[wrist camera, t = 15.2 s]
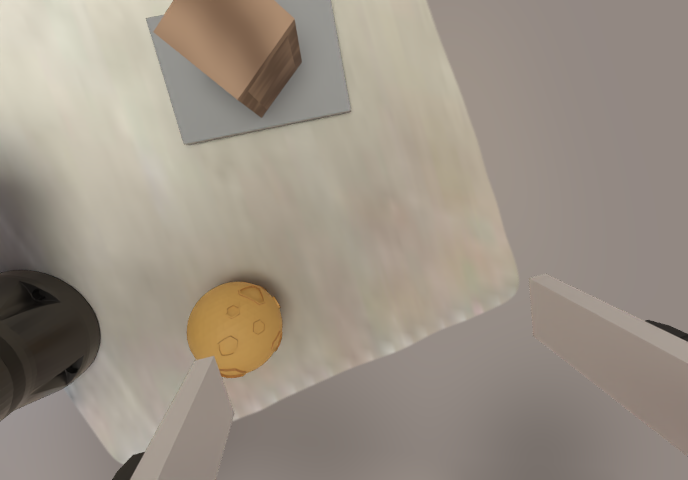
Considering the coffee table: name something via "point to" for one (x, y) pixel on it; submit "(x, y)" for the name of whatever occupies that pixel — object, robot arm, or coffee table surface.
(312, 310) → the coffee table surface
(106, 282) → the coffee table surface
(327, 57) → the stub plate
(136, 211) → the coffee table surface
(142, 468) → the robot arm
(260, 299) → the stress ball
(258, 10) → the brown wooden block
